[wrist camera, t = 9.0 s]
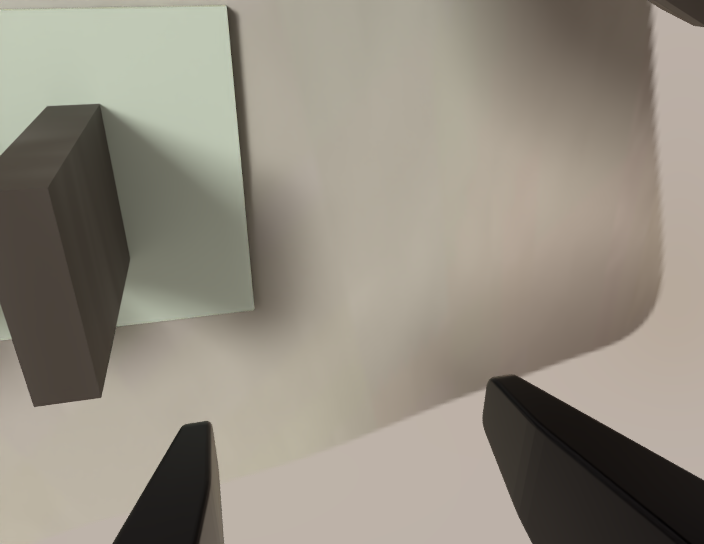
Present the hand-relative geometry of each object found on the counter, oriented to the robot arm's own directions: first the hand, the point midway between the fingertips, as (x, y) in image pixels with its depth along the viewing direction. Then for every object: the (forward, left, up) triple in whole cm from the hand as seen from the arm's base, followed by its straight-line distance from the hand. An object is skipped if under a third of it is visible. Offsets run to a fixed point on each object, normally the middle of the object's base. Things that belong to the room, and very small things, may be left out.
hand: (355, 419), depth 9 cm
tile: (+5, 0, -12) cm, 13 cm away
